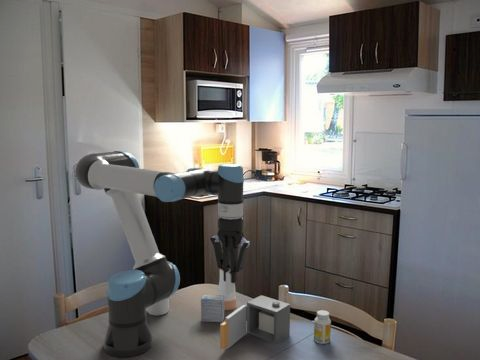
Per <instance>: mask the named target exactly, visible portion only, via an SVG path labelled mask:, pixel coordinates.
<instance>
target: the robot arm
mask: <svg viewBox="0 0 480 360" xmlns="http://www.w3.org/2000/svg"><path fill="white" fill-rule="evenodd" d="M74 171H75V172H74V173H75V178H76V180H77V181H78V183H79V184H80V186H83V187H84V188H87V189H90V190H91V189H93V190H97V191H100V190H103V191H104V193H105V195H106V196H108V197H111V199H112V202H113V204H114V208H115V209H116V213H117V215H118V218H119V221H120V224H121V226H122V230H123V232H124V234H125V237H126V241H127V243H128V246H129V248H130V251H131V254H132V258H133V259H134V265H133V268H132V269H127V270H121V271H120V272H119V271H118V272H117V273H115V274H113V275H112V276H111V277H110V278H109V279H108V282H107V291H106V295H107V304H108V305H107V308H108V312H107V313H108V325H107V328H106V329H107V330H106V333H105V336H104V340H103V349H104V352H105V353H107V354H108V355H110V356H113V357H119V358H127V357H134V356H138V355H141V354H143V353H145V352H147V351H148V350H149V349H151V347H152V346H153V334H152V332H151V330H150V327H149V324H148V321H147V307H149V306H151V305H153V304H155V303H157V302H159V301H161V300H164V299H167V298H168V297H169V298H170V297H171V296H173V295H174V294H175V293H176V292H177V291H178V290H179V286H180V282H181V277H180V276H181V275H180V272H179V269H178V267H177V266H176V264H173V262H170V261H168V260H167V257H166V255H163V253H160V251H159V249H158V245H157V243H156V240H155V237H154V235H153V233H152V229H151V227H150V224H149V222H148V218H147V216H146V213H145V211H144V207H143V205H142V203H141V200H140V196H139V194H140V195H145V196H152V197H155V198H157V199H159V200H160V202H164V203H169V202H170V203H171V202H178V201H180V200H183V199H187V198H193V197H195V196H200V195H212V196H217V215H218V217H217V228H218V230H217V233H216V235H214V236H211V237H210V241H211V244H212V246H213V251H214V256H215V260H216V265H217V269H218V270H219V269H222V270H223V271H224V281H225V282H226V293H227V294H231V293H232V292H234V283H237V282H238V273H240V272H241V271H243V269H244V267H245V262H246V257H247V255H248V254H247V253H248V250H249V247H250V245H251V244H252V241H251V240H247V239H246V238H245V234H244V232H243V229H244V218H243V216H244V182H245V177H244V167H243V166H242V165H241V164H237V163H225V164H224V163H223V164H219V165H218V167H217V170H216V169H210V168H209V169H208V168H201V167H196V168H195V167H190V168H188V169H187V170H186V171H183V172H168V171H163V170H155V169H146V168H141V167H140V164H139V162H138V160H137V158H136V157H135V156H134V155H133V154H132V153H130V152H127V151H124V150H123V151H121V150H114V151H109V152H108V151H107V152H99V153H98V152H97V153H89V154H87V155H85V156H83V157H82V158H80V159H79V160H78V162H77V163H76V165H75V170H74ZM239 245H240V246H239ZM239 248H240V249H239ZM229 269H230V270H229Z"/></svg>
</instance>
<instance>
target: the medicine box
mask: <svg viewBox="0 0 480 360" xmlns="http://www.w3.org/2000/svg"><path fill="white" fill-rule="evenodd" d="M200 321H201V322H203V323H223V322H224V321H225V310H224V296H223V295H218V294H203V295H202V296H201V298H200Z"/></svg>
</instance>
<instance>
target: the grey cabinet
mask: <svg viewBox="0 0 480 360" xmlns="http://www.w3.org/2000/svg"><path fill="white" fill-rule="evenodd" d="M246 305H247V316H246V334H248V335H251V336H254V337H257V338H259V339H262V340H264V341H267V342H269V343H272V344H275V345H277V344H279V343H280V342H281V341H283V340H284V339H285V338H287V337H289V336H290V329H291V328H290V327H291V325H290V323H291V321H290V320H291V304H290V303H287V302H284V301H282V300H278V299H274V298H271V297H268V296H265V295H259V296H257V297H255V298H253V299H251V300H249V301H247V303H246Z"/></svg>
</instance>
